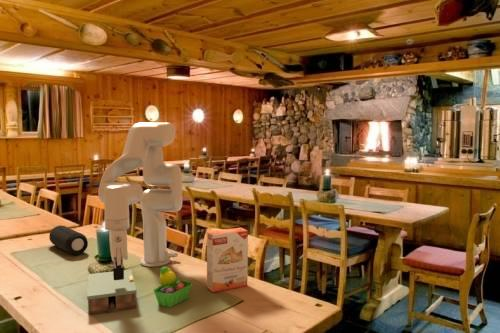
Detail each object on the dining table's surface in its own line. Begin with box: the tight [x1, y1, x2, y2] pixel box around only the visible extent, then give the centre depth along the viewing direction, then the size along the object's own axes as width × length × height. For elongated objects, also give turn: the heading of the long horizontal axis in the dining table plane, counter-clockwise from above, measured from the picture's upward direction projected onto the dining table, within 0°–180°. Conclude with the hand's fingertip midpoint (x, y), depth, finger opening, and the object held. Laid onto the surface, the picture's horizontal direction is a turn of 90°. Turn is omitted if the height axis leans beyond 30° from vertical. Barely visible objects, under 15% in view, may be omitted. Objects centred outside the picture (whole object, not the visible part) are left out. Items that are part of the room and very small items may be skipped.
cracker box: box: [206, 227, 249, 293], centre depth 151 cm, size 14×6×21 cm, turn 117°
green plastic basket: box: [153, 266, 193, 308], centre depth 140 cm, size 11×9×11 cm
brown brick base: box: [87, 292, 137, 316], centre depth 141 cm, size 14×20×5 cm
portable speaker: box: [49, 225, 89, 256], centre depth 198 cm, size 26×10×10 cm, turn 44°
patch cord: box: [109, 296, 115, 310], centre depth 140 cm, size 1×20×1 cm, turn 20°
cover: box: [86, 269, 137, 301], centre depth 141 cm, size 15×21×2 cm
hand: (118, 278), depth 137 cm, fingers closed
